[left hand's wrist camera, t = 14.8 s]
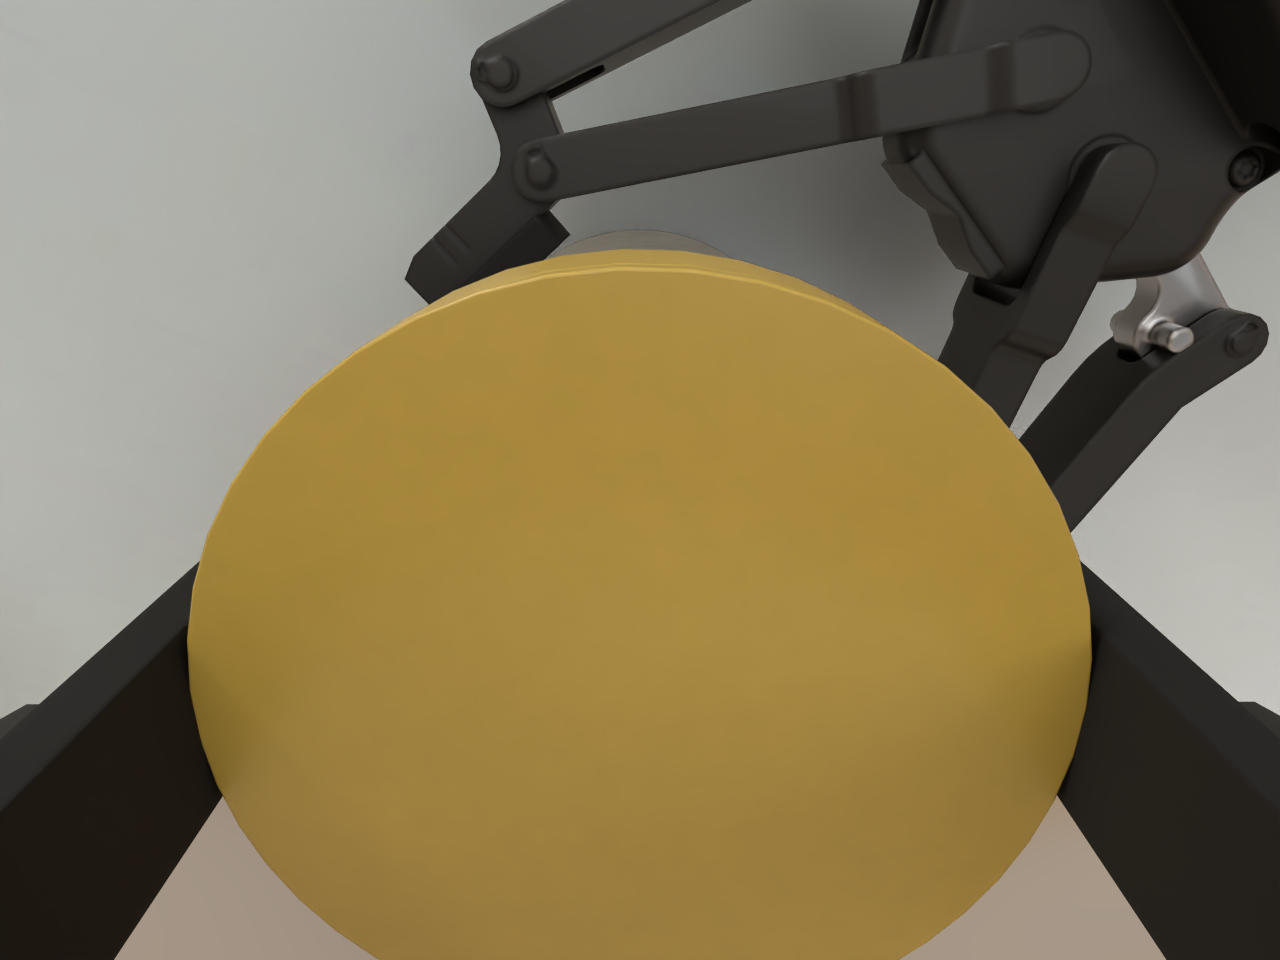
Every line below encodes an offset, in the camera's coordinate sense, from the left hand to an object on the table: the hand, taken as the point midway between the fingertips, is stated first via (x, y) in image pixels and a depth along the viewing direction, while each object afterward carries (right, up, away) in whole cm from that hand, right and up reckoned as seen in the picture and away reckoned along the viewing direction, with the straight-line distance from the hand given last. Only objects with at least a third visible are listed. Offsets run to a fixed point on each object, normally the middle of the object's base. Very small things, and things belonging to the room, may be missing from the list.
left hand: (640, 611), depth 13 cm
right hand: (-3, 0, +8) cm, 8 cm away
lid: (0, -1, -2) cm, 3 cm away
